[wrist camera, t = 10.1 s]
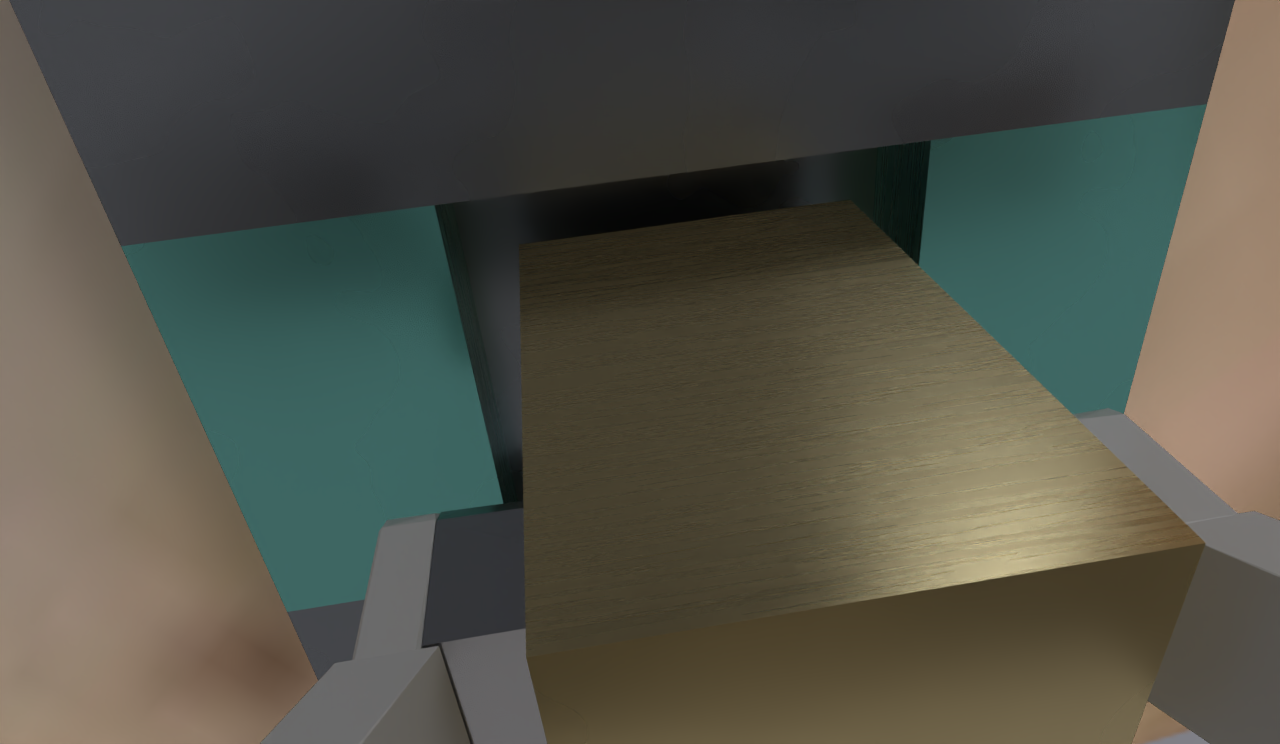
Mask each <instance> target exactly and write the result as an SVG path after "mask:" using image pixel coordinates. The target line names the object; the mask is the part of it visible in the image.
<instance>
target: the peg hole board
mask: <svg viewBox="0 0 1280 744" xmlns="http://www.w3.org/2000/svg"><path fill="white" fill-rule="evenodd" d="M1234 1H1235V0H10V3H11V5H12V7H13V9H14V11H15V14H16V16H17V18H18V20H19V22H20V25H21V27H22V29H23V31H24V33H25V36H26V38H27V40H28V42H29V44H30V47H31V49H32V51H33V53H34V55H35V58H36V60H37V62H38V64H39V66H40V69H41V71H42V73H43V75H44V77H45V80H46V82H47V84H48V86H49V88H50V91H51V93H52V95H53V97H54V99H55V102H56V104H57V106H58V108H59V110H60V113H61V115H62V117H63V119H64V121H65V124H66V126H67V128H68V130H69V132H70V135H71V137H72V139H73V141H74V144H75V146H76V148H77V150H78V152H79V155H80V157H81V159H82V161H83V163H84V166H85V168H86V170H87V172H88V174H89V177H90V179H91V181H92V183H93V185H94V188H95V190H96V192H97V194H98V196H99V199H100V201H101V203H102V205H103V207H104V210H105V212H106V214H107V216H108V218H109V221H110V223H111V225H112V227H113V229H114V232H115V234H116V236H117V238H118V240H119V243H120V245H121V247H122V249H123V251H124V254H125V256H126V258H127V260H128V262H129V265H130V267H131V269H132V271H133V273H134V276H135V278H136V280H137V282H138V284H139V287H140V289H141V291H142V293H143V295H144V298H145V300H146V302H147V304H148V306H149V309H150V311H151V313H152V315H153V317H154V320H155V322H156V324H157V326H158V328H159V331H160V333H161V335H162V337H163V339H164V342H165V344H166V346H167V348H168V350H169V353H170V355H171V357H172V359H173V361H174V364H175V366H176V368H177V370H178V372H179V375H180V377H181V379H182V381H183V383H184V386H185V388H186V390H187V392H188V395H189V397H190V399H191V401H192V403H193V406H194V408H195V410H196V412H197V414H198V417H199V419H200V421H201V423H202V425H203V428H204V430H205V432H206V434H207V436H208V439H209V441H210V443H211V445H212V447H213V450H214V452H215V454H216V456H217V458H218V461H219V463H220V465H221V467H222V469H223V472H224V474H225V476H226V478H227V480H228V483H229V485H230V487H231V489H232V491H233V494H234V496H235V498H236V500H237V502H238V505H239V507H240V509H241V511H242V513H243V516H244V518H245V520H246V522H247V524H248V527H249V529H250V531H251V533H252V535H253V538H254V540H255V542H256V544H257V546H258V549H259V551H260V553H261V555H262V557H263V560H264V562H265V564H266V566H267V568H268V571H269V573H270V575H271V577H272V579H273V582H274V584H275V586H276V588H277V590H278V593H279V595H280V597H281V599H282V601H283V604H284V606H285V608H286V610H287V612H288V615H289V617H290V619H291V621H292V623H293V626H294V628H295V630H296V632H297V635H298V637H299V639H300V641H301V643H302V646H303V648H304V650H305V652H306V654H307V657H308V659H309V661H310V663H311V665H312V668H313V670H314V672H315V674H316V676H317V679H318V680H319V679H320V678H321V677H322V676H323V675H324V674H325V673H326V672H327V671H328V670H329V669H330V668H331V666H332V665H333V664H334V663H338V662H344V661H349V660H352V658H353V653H354V649H355V644H356V639H357V634H358V629H359V625H360V620H361V615H362V610H363V605H364V601H365V596H366V591H367V586H368V581H369V576H370V572H371V567H372V562H373V557H374V552H375V548H376V543H377V538H378V533H379V531H380V529H381V528H382V526H383V525H384V524H385V522H386V521H387V520H391V519H398V518H405V517H412V516H420V515H427V514H434V513H437V514H440V513H441V512H444V511H451V510H459V509H466V508H474V507H481V506H489V505H497V504H504V503H512V502H519V501H523V449H522V390H521V332H520V274H519V244H524V243H532V242H539V241H546V240H554V239H561V238H569V237H576V236H583V235H591V234H598V233H605V232H613V231H620V230H627V229H635V228H642V227H650V226H657V225H664V224H672V223H679V222H686V221H694V220H701V219H709V218H716V217H723V216H731V215H738V214H745V213H753V212H760V211H767V210H775V209H782V208H790V207H797V206H804V205H812V204H819V203H826V202H834V201H841V200H849V199H850V200H851V201H852V202H853V203H854V204H855V205H856V206H857V207H858V208H859V209H860V210H861V211H862V212H863V213H864V214H866V215H867V216H868V217H869V218H870V219H871V220H872V221H873V222H874V223H875V224H876V225H877V226H878V227H879V228H880V229H881V230H882V231H883V232H884V233H885V234H886V235H887V236H888V237H889V238H890V239H891V240H892V241H893V242H895V243H896V244H897V245H898V246H899V247H900V248H901V249H902V250H903V251H904V252H905V253H906V254H907V255H908V256H909V257H910V258H911V259H912V260H913V261H914V262H915V263H916V264H917V265H918V266H919V267H920V268H921V269H922V270H924V271H925V272H926V273H927V274H928V275H929V276H930V277H931V278H932V279H933V280H934V281H935V282H936V283H937V284H938V285H939V286H940V287H941V288H942V289H943V290H944V291H945V292H946V293H947V294H948V295H949V296H950V297H952V298H953V299H954V300H955V301H956V302H957V303H958V304H959V305H960V306H961V307H962V308H963V309H964V310H965V311H966V312H967V313H968V314H969V315H970V316H971V317H972V318H973V319H974V320H975V321H976V322H977V323H978V324H979V325H981V326H982V327H983V328H984V329H985V330H986V331H987V332H988V333H989V334H990V335H991V336H992V337H993V338H994V339H995V340H996V341H997V342H998V343H999V344H1000V345H1001V346H1002V347H1003V348H1004V349H1005V350H1006V351H1007V352H1008V353H1010V354H1011V355H1012V356H1013V357H1014V358H1015V359H1016V360H1017V361H1018V362H1019V363H1020V364H1021V365H1022V366H1023V367H1024V368H1025V369H1026V370H1027V371H1028V372H1029V373H1030V374H1031V375H1032V376H1033V377H1034V378H1035V379H1036V380H1038V381H1039V382H1040V383H1041V384H1042V385H1043V386H1044V387H1045V388H1046V389H1047V390H1048V391H1049V392H1050V393H1051V394H1052V395H1053V396H1054V397H1055V398H1056V399H1057V400H1058V401H1059V402H1060V403H1061V404H1062V405H1063V406H1064V407H1065V408H1067V409H1068V410H1069V411H1070V412H1071V413H1072V414H1078V413H1084V412H1089V411H1095V410H1100V409H1106V408H1109V409H1112V410H1115V411H1118V412H1121V413H1123V414H1124V411H1125V407H1126V403H1127V400H1128V396H1129V392H1130V389H1131V385H1132V381H1133V377H1134V374H1135V370H1136V366H1137V363H1138V359H1139V355H1140V351H1141V348H1142V344H1143V340H1144V336H1145V333H1146V329H1147V325H1148V322H1149V318H1150V314H1151V310H1152V307H1153V303H1154V299H1155V295H1156V292H1157V288H1158V284H1159V281H1160V277H1161V273H1162V269H1163V266H1164V262H1165V258H1166V255H1167V251H1168V247H1169V243H1170V240H1171V236H1172V232H1173V228H1174V225H1175V221H1176V217H1177V214H1178V210H1179V206H1180V202H1181V199H1182V195H1183V191H1184V188H1185V184H1186V180H1187V176H1188V173H1189V169H1190V165H1191V161H1192V158H1193V154H1194V150H1195V147H1196V143H1197V139H1198V135H1199V132H1200V128H1201V124H1202V120H1203V117H1204V113H1205V109H1206V106H1207V102H1208V98H1209V94H1210V91H1211V87H1212V83H1213V80H1214V76H1215V72H1216V68H1217V65H1218V61H1219V57H1220V53H1221V50H1222V46H1223V42H1224V39H1225V35H1226V31H1227V27H1228V24H1229V20H1230V16H1231V12H1232V9H1233V5H1234Z"/></svg>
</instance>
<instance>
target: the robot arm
mask: <svg viewBox="0 0 1280 744" xmlns="http://www.w3.org/2000/svg"><path fill="white" fill-rule="evenodd" d="M1073 415H1074V416H1075V417H1076V418H1077V419H1078V420H1079V421H1080V422H1081V423H1082V424H1083V425H1084V426H1085V427H1086V428H1087V429H1088V430H1089V431H1090V432H1091V433H1092V434H1093V435H1094V436H1096V437H1097V438H1098V439H1099V440H1100V441H1101V442H1102V443H1103V444H1104V445H1105V446H1106V447H1107V448H1108V449H1109V450H1110V451H1111V452H1112V453H1113V454H1114V455H1115V456H1116V457H1117V458H1118V459H1119V460H1120V461H1121V462H1122V463H1124V464H1125V465H1126V466H1127V467H1128V468H1129V469H1130V470H1131V471H1132V472H1133V473H1134V474H1135V475H1136V476H1137V477H1138V478H1139V479H1140V480H1141V481H1142V482H1143V483H1144V484H1145V485H1146V486H1147V487H1148V488H1149V489H1150V490H1151V491H1153V492H1154V493H1155V494H1156V495H1157V496H1158V497H1159V498H1160V499H1161V500H1162V501H1163V502H1164V503H1165V504H1166V505H1167V506H1168V507H1169V508H1170V509H1171V510H1172V511H1173V512H1174V513H1175V514H1176V515H1177V516H1178V517H1179V518H1180V519H1182V520H1183V521H1184V522H1185V523H1186V524H1187V525H1188V526H1189V527H1190V528H1191V529H1192V530H1193V531H1194V532H1195V533H1196V534H1197V535H1198V536H1199V537H1200V538H1201V539H1202V540H1203V541H1204V542H1205V543H1206V544H1205V547H1204V549H1203V552H1202V555H1201V557H1200V560H1199V563H1198V566H1197V568H1196V571H1195V574H1194V576H1193V579H1192V582H1191V584H1190V587H1189V590H1188V593H1187V595H1186V598H1185V601H1184V603H1183V606H1182V609H1181V611H1180V614H1179V617H1178V619H1177V622H1176V625H1175V628H1174V630H1173V633H1172V636H1171V638H1170V641H1169V644H1168V646H1167V649H1166V652H1165V655H1164V657H1163V660H1162V663H1161V665H1160V668H1159V671H1158V673H1157V676H1156V679H1155V682H1154V684H1153V687H1152V690H1151V692H1150V695H1149V698H1148V700H1147V701H1148V702H1150V703H1151V704H1153V705H1154V706H1156V707H1157V708H1159V709H1160V710H1162V711H1163V712H1165V713H1166V714H1167V715H1169V716H1170V717H1172V718H1173V719H1175V720H1176V721H1178V722H1179V723H1181V724H1182V725H1184V726H1185V727H1186V728H1188V729H1189V730H1191V731H1192V732H1194V733H1195V734H1197V735H1198V736H1200V737H1201V738H1203V739H1204V740H1206V741H1207V742H1208V743H1210V744H1280V521H1279V520H1277V519H1274V518H1271V517H1269V516H1266V515H1264V514H1261V513H1258V512H1256V511H1252V512H1245V513H1239V514H1238V513H1237V512H1235V511H1234V510H1233V509H1232V508H1231V507H1230V506H1229V505H1227V504H1226V503H1225V502H1224V501H1223V500H1222V499H1221V498H1219V497H1218V496H1217V495H1216V494H1215V493H1214V492H1213V491H1211V490H1210V489H1209V488H1208V487H1207V486H1206V485H1205V484H1203V483H1202V482H1201V481H1200V480H1199V479H1198V478H1197V477H1195V476H1194V475H1193V474H1192V473H1191V472H1190V471H1189V470H1188V469H1186V468H1185V467H1184V466H1183V465H1182V464H1181V463H1180V462H1178V461H1177V460H1176V459H1175V458H1174V457H1173V456H1172V455H1170V454H1169V453H1168V452H1167V451H1166V450H1165V449H1164V448H1162V447H1161V446H1160V445H1159V444H1158V443H1157V442H1156V441H1154V440H1153V439H1152V438H1151V437H1150V436H1149V435H1148V434H1146V433H1145V432H1144V431H1143V430H1142V429H1141V428H1140V427H1138V426H1137V425H1136V424H1135V423H1134V422H1133V421H1132V420H1130V419H1129V418H1128V417H1127V416H1126V415H1125V414H1123V413H1121V412H1118V411H1115V410H1112V409H1109V408H1106V409H1100V410H1095V411H1089V412H1084V413H1078V414H1073ZM260 744H547V741H546V737H545V732H544V728H543V724H542V720H541V716H540V712H539V708H538V704H537V700H536V696H535V692H534V688H533V684H532V680H531V676H530V671H529V667H528V663H527V659H526V624H525V566H524V507H523V501H519V502H512V503H504V504H497V505H489V506H481V507H474V508H466V509H459V510H451V511H444V512H441V513H440V514H437V513H434V514H427V515H420V516H412V517H405V518H398V519H391V520H387V521H386V522H385V524H384V525H383V526H382V528H381V529H380V531H379V533H378V538H377V543H376V548H375V552H374V557H373V562H372V567H371V572H370V576H369V581H368V586H367V591H366V596H365V601H364V605H363V610H362V615H361V620H360V625H359V629H358V634H357V639H356V644H355V649H354V653H353V658H352V660H349V661H344V662H338V663H334V664H333V665H332V666H331V668H330V669H329V670H328V671H327V672H326V673H325V674H324V675H323V676H322V677H321V678H320V679H319V680H318V681H317V683H316V684H315V685H314V686H313V687H312V688H311V689H310V690H309V691H308V692H307V693H306V694H305V695H304V697H303V698H302V699H301V700H300V701H299V702H298V703H297V704H296V705H295V706H294V707H293V708H292V709H291V711H290V712H289V713H288V714H287V715H286V716H285V717H284V718H283V719H282V720H281V721H280V722H279V723H278V724H277V726H276V727H275V728H274V729H273V730H272V731H271V732H270V733H269V734H268V735H267V736H266V737H265V738H264V740H263V741H262V742H261V743H260Z"/></svg>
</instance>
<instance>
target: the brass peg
mask: <svg viewBox="0 0 1280 744" xmlns="http://www.w3.org/2000/svg"><path fill="white" fill-rule="evenodd" d="M519 274H520V332H521V390H522V449H523V507H524V566H525V624H526V659H527V663H528V667H529V671H530V676H531V680H532V684H533V688H534V692H535V696H536V700H537V704H538V708H539V712H540V716H541V720H542V724H543V728H544V732H545V737H546V741H547V744H1132V741H1133V738H1134V736H1135V733H1136V730H1137V727H1138V725H1139V722H1140V719H1141V717H1142V714H1143V711H1144V709H1145V706H1146V703H1147V700H1148V698H1149V695H1150V692H1151V690H1152V687H1153V684H1154V682H1155V679H1156V676H1157V673H1158V671H1159V668H1160V665H1161V663H1162V660H1163V657H1164V655H1165V652H1166V649H1167V646H1168V644H1169V641H1170V638H1171V636H1172V633H1173V630H1174V628H1175V625H1176V622H1177V619H1178V617H1179V614H1180V611H1181V609H1182V606H1183V603H1184V601H1185V598H1186V595H1187V593H1188V590H1189V587H1190V584H1191V582H1192V579H1193V576H1194V574H1195V571H1196V568H1197V566H1198V563H1199V560H1200V557H1201V555H1202V552H1203V549H1204V547H1205V544H1206V543H1205V542H1204V541H1203V540H1202V539H1201V538H1200V537H1199V536H1198V535H1197V534H1196V533H1195V532H1194V531H1193V530H1192V529H1191V528H1190V527H1189V526H1188V525H1187V524H1186V523H1185V522H1184V521H1183V520H1182V519H1180V518H1179V517H1178V516H1177V515H1176V514H1175V513H1174V512H1173V511H1172V510H1171V509H1170V508H1169V507H1168V506H1167V505H1166V504H1165V503H1164V502H1163V501H1162V500H1161V499H1160V498H1159V497H1158V496H1157V495H1156V494H1155V493H1154V492H1153V491H1151V490H1150V489H1149V488H1148V487H1147V486H1146V485H1145V484H1144V483H1143V482H1142V481H1141V480H1140V479H1139V478H1138V477H1137V476H1136V475H1135V474H1134V473H1133V472H1132V471H1131V470H1130V469H1129V468H1128V467H1127V466H1126V465H1125V464H1124V463H1122V462H1121V461H1120V460H1119V459H1118V458H1117V457H1116V456H1115V455H1114V454H1113V453H1112V452H1111V451H1110V450H1109V449H1108V448H1107V447H1106V446H1105V445H1104V444H1103V443H1102V442H1101V441H1100V440H1099V439H1098V438H1097V437H1096V436H1094V435H1093V434H1092V433H1091V432H1090V431H1089V430H1088V429H1087V428H1086V427H1085V426H1084V425H1083V424H1082V423H1081V422H1080V421H1079V420H1078V419H1077V418H1076V417H1075V416H1074V415H1073V414H1072V413H1071V412H1070V411H1069V410H1068V409H1067V408H1065V407H1064V406H1063V405H1062V404H1061V403H1060V402H1059V401H1058V400H1057V399H1056V398H1055V397H1054V396H1053V395H1052V394H1051V393H1050V392H1049V391H1048V390H1047V389H1046V388H1045V387H1044V386H1043V385H1042V384H1041V383H1040V382H1039V381H1038V380H1036V379H1035V378H1034V377H1033V376H1032V375H1031V374H1030V373H1029V372H1028V371H1027V370H1026V369H1025V368H1024V367H1023V366H1022V365H1021V364H1020V363H1019V362H1018V361H1017V360H1016V359H1015V358H1014V357H1013V356H1012V355H1011V354H1010V353H1008V352H1007V351H1006V350H1005V349H1004V348H1003V347H1002V346H1001V345H1000V344H999V343H998V342H997V341H996V340H995V339H994V338H993V337H992V336H991V335H990V334H989V333H988V332H987V331H986V330H985V329H984V328H983V327H982V326H981V325H979V324H978V323H977V322H976V321H975V320H974V319H973V318H972V317H971V316H970V315H969V314H968V313H967V312H966V311H965V310H964V309H963V308H962V307H961V306H960V305H959V304H958V303H957V302H956V301H955V300H954V299H953V298H952V297H950V296H949V295H948V294H947V293H946V292H945V291H944V290H943V289H942V288H941V287H940V286H939V285H938V284H937V283H936V282H935V281H934V280H933V279H932V278H931V277H930V276H929V275H928V274H927V273H926V272H925V271H924V270H922V269H921V268H920V267H919V266H918V265H917V264H916V263H915V262H914V261H913V260H912V259H911V258H910V257H909V256H908V255H907V254H906V253H905V252H904V251H903V250H902V249H901V248H900V247H899V246H898V245H897V244H896V243H895V242H893V241H892V240H891V239H890V238H889V237H888V236H887V235H886V234H885V233H884V232H883V231H882V230H881V229H880V228H879V227H878V226H877V225H876V224H875V223H874V222H873V221H872V220H871V219H870V218H869V217H868V216H867V215H866V214H864V213H863V212H862V211H861V210H860V209H859V208H858V207H857V206H856V205H855V204H854V203H853V202H852V201H851V200H850V199H849V200H841V201H834V202H826V203H819V204H812V205H804V206H797V207H790V208H782V209H775V210H767V211H760V212H753V213H745V214H738V215H731V216H723V217H716V218H709V219H701V220H694V221H686V222H679V223H672V224H664V225H657V226H650V227H642V228H635V229H627V230H620V231H613V232H605V233H598V234H591V235H583V236H576V237H569V238H561V239H554V240H546V241H539V242H532V243H524V244H519Z"/></svg>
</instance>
